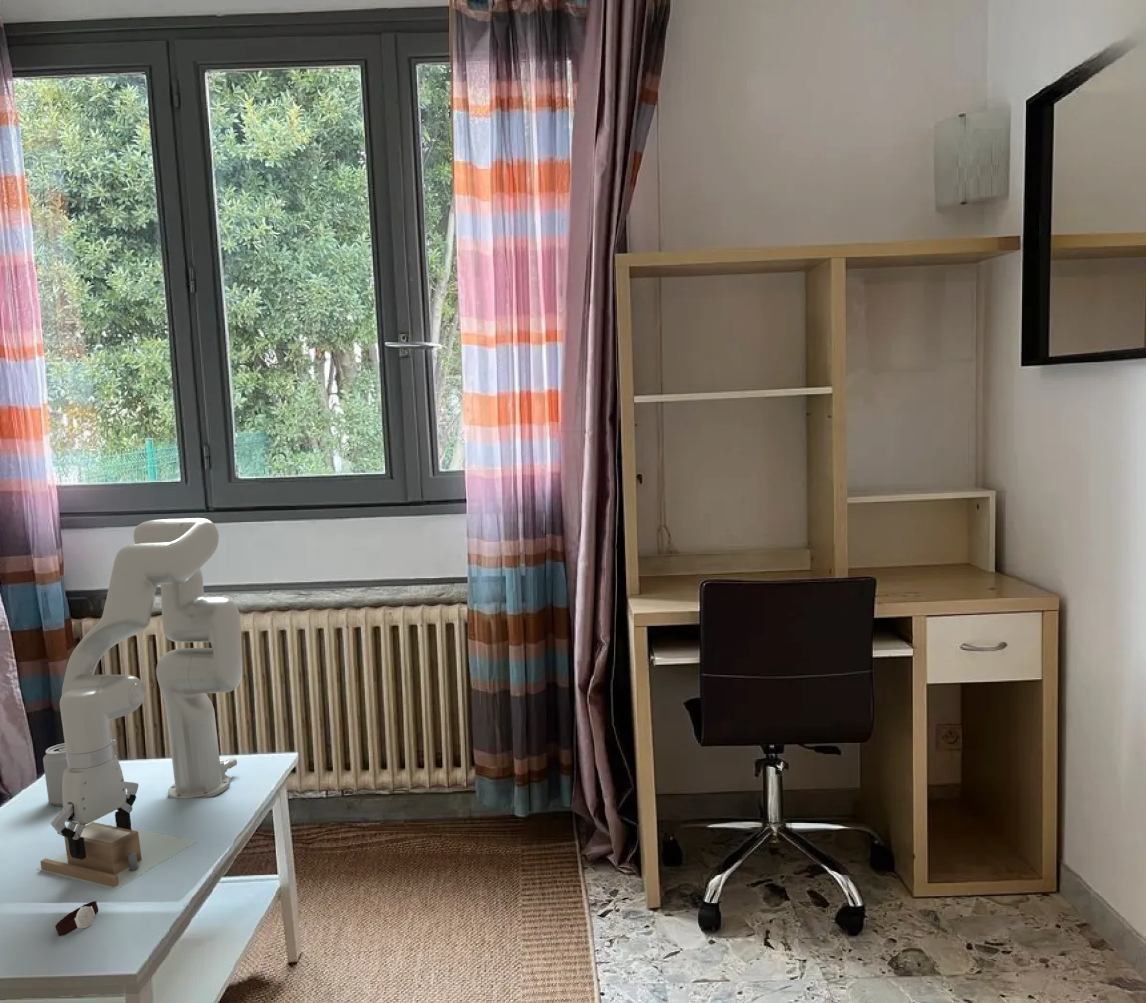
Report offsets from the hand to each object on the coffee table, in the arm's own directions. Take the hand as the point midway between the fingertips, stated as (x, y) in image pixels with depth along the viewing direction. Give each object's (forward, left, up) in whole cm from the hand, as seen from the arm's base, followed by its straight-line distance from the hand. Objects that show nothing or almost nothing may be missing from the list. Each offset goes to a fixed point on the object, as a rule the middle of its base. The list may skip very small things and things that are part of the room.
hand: (102, 845), depth 175 cm
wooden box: (0, 0, -3) cm, 3 cm away
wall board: (-3, 0, -5) cm, 5 cm away
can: (-19, -35, -5) cm, 40 cm away
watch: (+15, +12, -5) cm, 20 cm away
